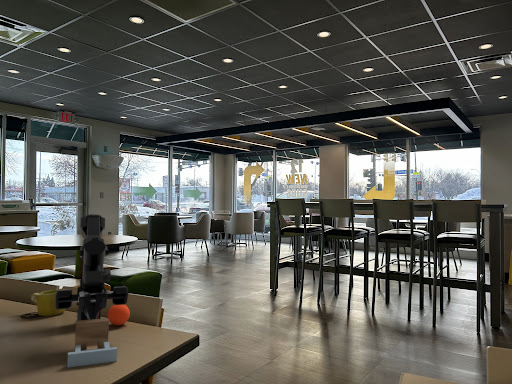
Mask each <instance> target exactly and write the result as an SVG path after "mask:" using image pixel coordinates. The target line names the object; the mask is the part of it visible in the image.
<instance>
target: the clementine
mask: <svg viewBox="0 0 512 384" xmlns="http://www.w3.org/2000/svg"><path fill="white" fill-rule="evenodd" d="M128 306H129V307H130V308H132V307H131V305H130V304H128V305H127V304H125V305H114V304H113V305H112V306H111V307H110V308H109V309H108V311H107V318H108V319H109V324H111V325H114V326H122V325H124V324H125V323H127V321H128V320H129V318H130V315H131V312H130V308H129V307H128Z"/></svg>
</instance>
